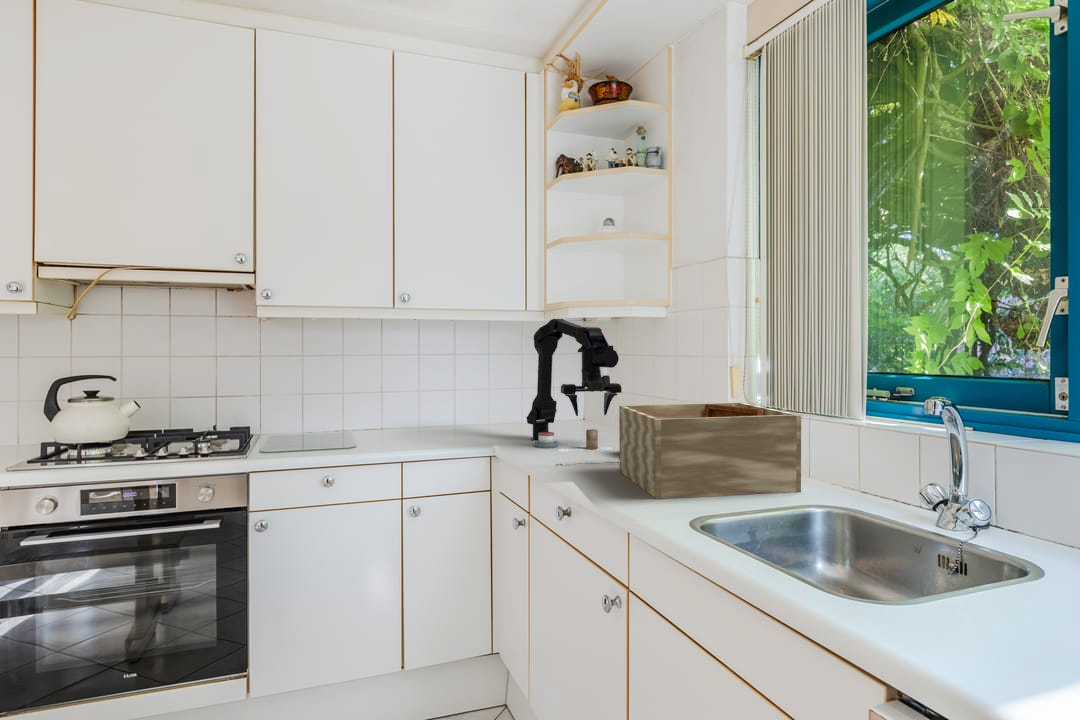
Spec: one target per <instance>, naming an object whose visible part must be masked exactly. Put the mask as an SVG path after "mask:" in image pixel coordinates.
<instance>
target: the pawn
mask: <svg viewBox="0 0 1080 720" xmlns="http://www.w3.org/2000/svg"><path fill="white" fill-rule="evenodd" d="M598 431H599V430H598V429H593V428H592V429H586V430H585V433H586V434H585V436H586V438H585V441H586V445H585V446H586V447H585V448H586V449H588V450H587V451H598V450H597V449H599V445H598V444H599V439H598V434H599V433H598ZM586 449H585V450H586Z"/></svg>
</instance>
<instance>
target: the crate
mask: <svg viewBox="0 0 1080 720" xmlns="http://www.w3.org/2000/svg"><path fill="white" fill-rule="evenodd" d="M705 404H713V405H722V406H725V405H727V406H731V405H734V406H737V407H742V408H752V409H761V410H763V415H762V416H737V417H705V418H704V412H705ZM618 412H619V413H618V415H619V417H618V420H619V421H618V422H619V423H618V424H619V426H618V427H619V430H618V431H619V432H618V433H619V434H618V435H619V437H618V438H619V444H618V445H619V472H620V473H621V474H622V475H624V476H625V477H626V478H628V479H629V480H630V479H631V480H630V481H632V482H633V483H634V482H635V483H634V484H636V485H637V486H638V485H639V486H638V487H639V488H641V489H642V488H643V489H642V490H644V491H645V490H646V491H647V492H646V491H645V492H646V493H648V494H649V495H650V494H651V495H652V496H651V495H650V496H651V497H653V498H654V497H655V498H656V500H658V499H657V498H663V500H665V499H664V498H668V499H685V498H703V497H706V498H708V497H721V496H722V497H723V496H725V497H726V496H741V495H742V496H743V495H746V496H747V495H759V494H761V495H762V494H779V493H780V494H781V493H800V492H802V414H797V413H792V412H788V411H782V410H777V409H773V408H770V407H769V408H768V407H763V406H759V405H755V404H749V403H746V402H715V403H713V402H712V403H709V402H707V403H682V404H681V403H676V404H645V405H644V404H641V405H640V404H639V405H637V404H636V405H633V404H632V405H619V409H618ZM655 498H654V499H655Z"/></svg>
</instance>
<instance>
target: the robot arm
mask: <svg viewBox="0 0 1080 720" xmlns="http://www.w3.org/2000/svg"><path fill="white" fill-rule="evenodd" d="M563 334H564V335H566V336H568V337H571V338H574V339H575V341H576V343H579V344H580V345H581V347H579V348H578V350H577V353H581V385H576V384H575V383H574V384H573V383H565V384H564V383H562V384H561V385H560V393H561V394H563V395H564V396H565V397H567V398H568V399H569V401H570V403H571V405H572V408H573V411H574V413H575V416H576V417H578V416H579V408H578V406H579V405H578V394H577V392H578V393H579V392H604V394H603V395H604V396H603V415H604V416H607V414H608V410H609V408H610V406H611V405H610V404H611V402H612V400H613V399H614V397H616V396H618V394H620V393H622V385H621V384H620V383H618V382H617V383H616V382H611V377H610V375H601V370H600V368H607V369H608V368H610V369H611V368H612V369H613V368H615V367H617V365H618V363H619V360H620V359H619V354H618V352H617V350H615V349H614V345H609V343H608V341H607V339H606V337H605V335H604V333H603V330H602V329H601V327H595V326H583V325H579V324H576V323H573V322H570V321H568V320H565V319H564V318H552V319H550V320H549V321H548V322H547V323H546V324H544V325H543V326H541V327H539V328H538V329H537V330H536V331H535V333H534V334H533V345H534V346H533V347H534V349H535V351H536V352H537V355H538V363H537V390H536V391H537V394H536V395H535V398H534V399H533V401H532V404H531V408H530V409H531V410H530V411H529V413H528V414H527V416H526V422H527V425H532V437H530V440H531V442H536V441H539V435H538V433H540V432H550V431H549V429H550V428H549V427H550V426H549V424H554V422H555V418H556V413H557V411H558V410H557V401H556V400H554V399H553V397H552V383H553V381H552V380H553V379H552V378H553V377H552V376H553V356H554V354H555V352H556V350H557V348H558V343H559V341H560V339H562V337H563Z"/></svg>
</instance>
